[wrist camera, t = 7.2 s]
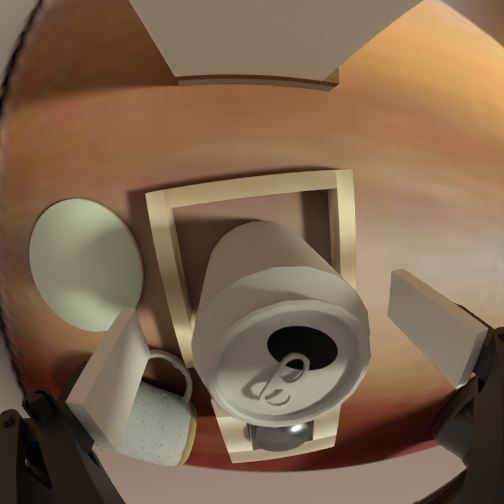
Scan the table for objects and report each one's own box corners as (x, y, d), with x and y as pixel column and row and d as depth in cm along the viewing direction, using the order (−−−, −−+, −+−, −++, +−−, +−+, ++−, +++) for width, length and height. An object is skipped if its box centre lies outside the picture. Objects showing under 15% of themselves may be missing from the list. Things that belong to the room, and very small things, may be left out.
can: (326, 247, 21) (421, 327, 9) (278, 327, 22) (316, 448, 11) (236, 200, 19) (247, 241, 8) (191, 290, 21) (159, 411, 9)
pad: (158, 323, 21) (156, 328, 20) (56, 328, 21) (52, 332, 20) (128, 184, 18) (124, 185, 17) (23, 213, 18) (17, 214, 17)
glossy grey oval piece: (297, 405, 22) (309, 446, 18) (254, 412, 22) (259, 454, 18) (296, 374, 21) (311, 418, 17) (248, 382, 21) (253, 427, 16)
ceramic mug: (183, 428, 25) (177, 485, 18) (111, 403, 24) (90, 456, 16) (214, 361, 23) (212, 428, 15) (124, 329, 21) (92, 386, 14)
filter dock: (338, 398, 25) (357, 439, 19) (209, 418, 25) (207, 464, 19) (340, 169, 19) (382, 169, 13) (153, 191, 18) (122, 199, 13)
